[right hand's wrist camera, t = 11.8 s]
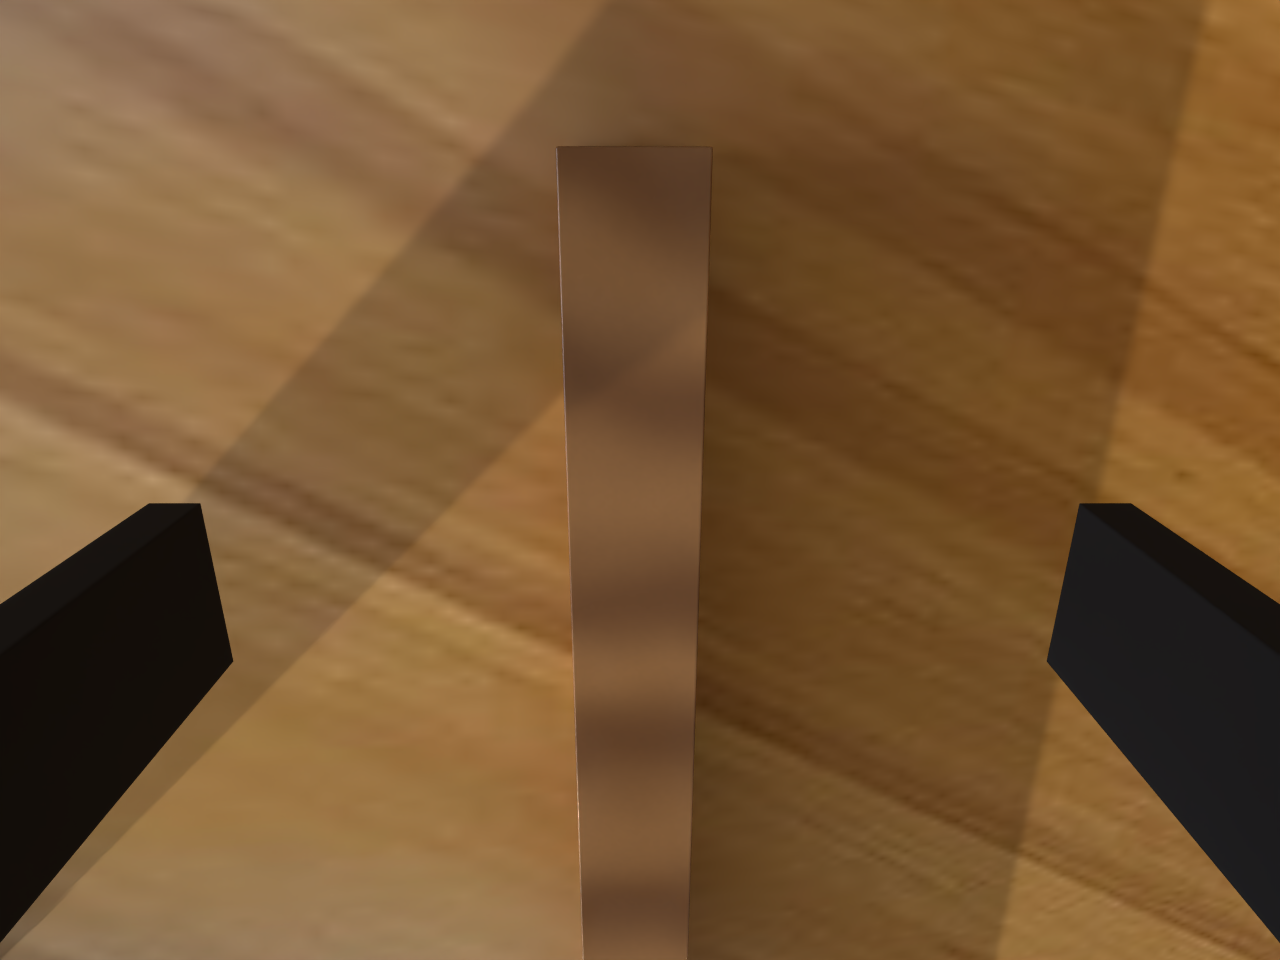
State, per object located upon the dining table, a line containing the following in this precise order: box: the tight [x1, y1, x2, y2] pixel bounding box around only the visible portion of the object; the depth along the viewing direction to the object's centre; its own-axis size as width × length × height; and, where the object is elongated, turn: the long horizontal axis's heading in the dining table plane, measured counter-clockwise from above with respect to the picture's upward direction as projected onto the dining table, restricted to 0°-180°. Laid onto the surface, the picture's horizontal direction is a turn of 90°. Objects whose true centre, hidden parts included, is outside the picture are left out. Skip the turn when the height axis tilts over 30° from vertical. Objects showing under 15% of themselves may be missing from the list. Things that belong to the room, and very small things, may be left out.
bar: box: [556, 146, 713, 960], centre depth 41 cm, size 65×5×8 cm, turn 0°
